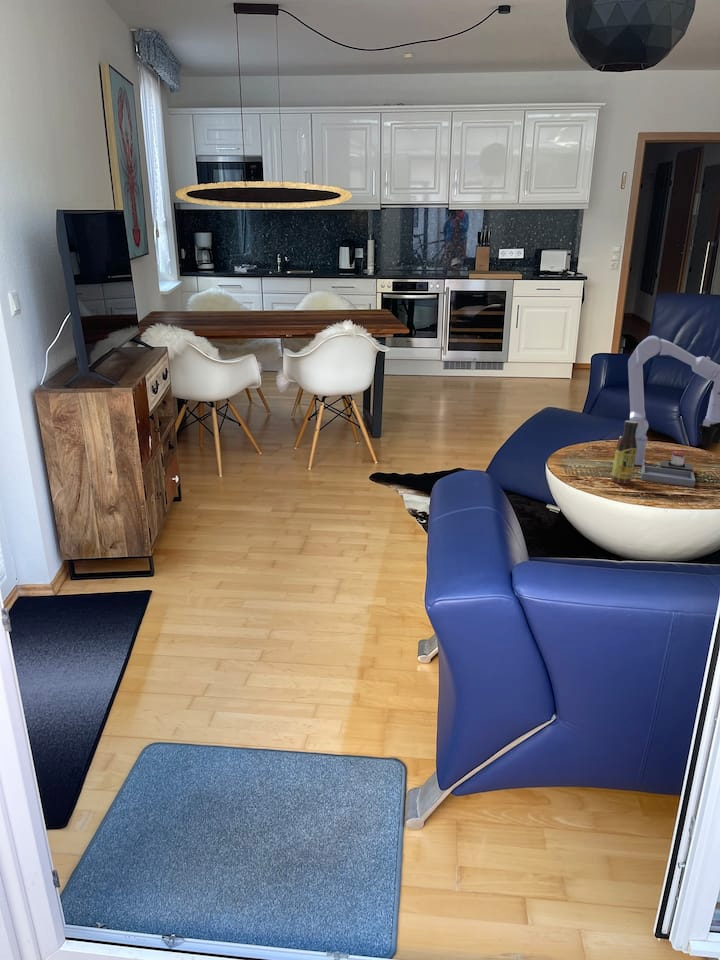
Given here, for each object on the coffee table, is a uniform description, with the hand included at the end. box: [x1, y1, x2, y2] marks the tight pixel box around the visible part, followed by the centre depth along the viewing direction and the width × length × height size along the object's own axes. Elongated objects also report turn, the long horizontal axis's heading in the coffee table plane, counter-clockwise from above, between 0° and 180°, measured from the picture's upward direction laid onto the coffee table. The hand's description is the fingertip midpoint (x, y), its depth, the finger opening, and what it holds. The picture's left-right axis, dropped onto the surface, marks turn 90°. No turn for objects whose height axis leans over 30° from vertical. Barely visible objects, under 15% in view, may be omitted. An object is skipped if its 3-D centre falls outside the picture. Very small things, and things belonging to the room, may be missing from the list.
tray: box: [640, 465, 696, 488], centre depth 238 cm, size 16×11×2 cm
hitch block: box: [659, 459, 694, 472], centre depth 247 cm, size 10×8×2 cm
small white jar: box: [670, 450, 686, 467], centre depth 246 cm, size 4×4×7 cm
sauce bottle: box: [610, 419, 638, 485], centre depth 230 cm, size 7×6×20 cm
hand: (710, 444), depth 245 cm, fingers open, 7 cm apart
